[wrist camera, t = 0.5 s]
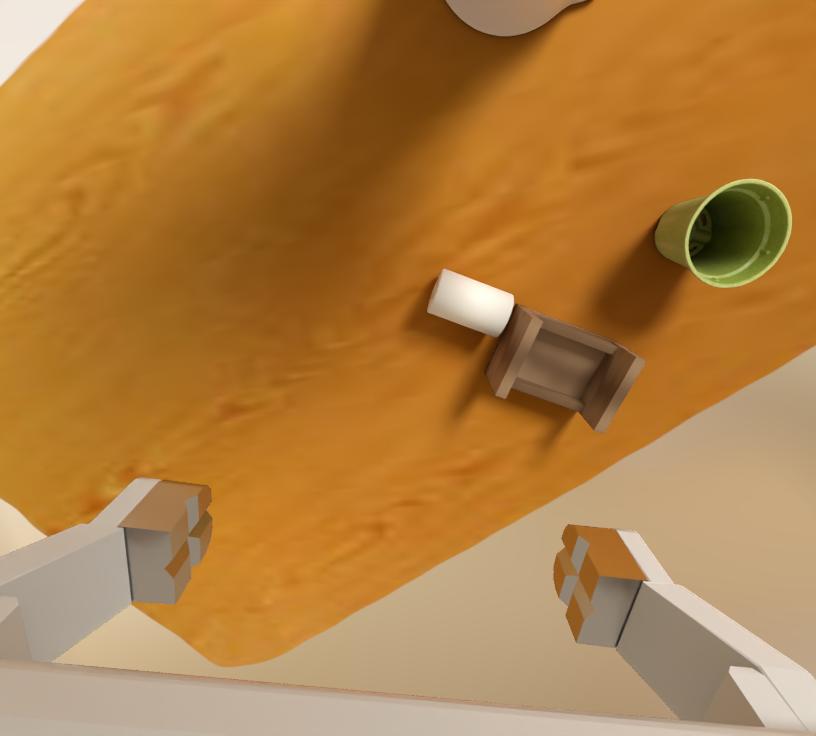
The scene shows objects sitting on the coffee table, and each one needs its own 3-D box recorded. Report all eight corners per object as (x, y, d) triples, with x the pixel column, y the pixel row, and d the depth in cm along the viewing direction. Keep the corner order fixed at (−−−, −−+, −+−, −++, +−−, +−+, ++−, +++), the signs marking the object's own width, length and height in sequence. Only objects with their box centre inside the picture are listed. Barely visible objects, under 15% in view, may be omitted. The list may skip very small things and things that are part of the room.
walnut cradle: (516, 303, 51) (532, 317, 44) (616, 341, 52) (646, 360, 46) (484, 372, 54) (495, 395, 47) (580, 406, 55) (603, 433, 49)
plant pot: (708, 165, 46) (773, 155, 38) (739, 243, 48) (806, 250, 40) (624, 218, 48) (669, 220, 39) (659, 291, 50) (707, 307, 42)
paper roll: (424, 306, 51) (426, 316, 46) (440, 264, 49) (444, 271, 45) (491, 331, 52) (499, 343, 47) (509, 291, 50) (519, 300, 46)
